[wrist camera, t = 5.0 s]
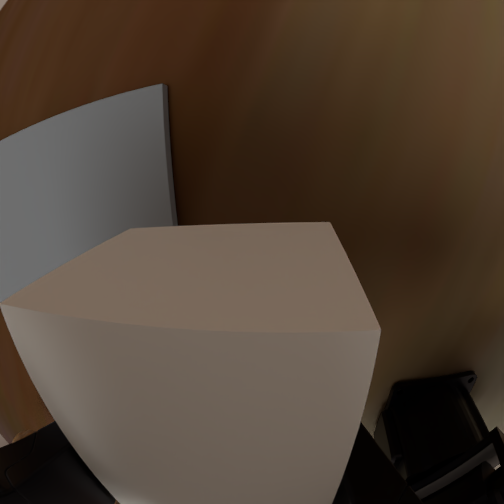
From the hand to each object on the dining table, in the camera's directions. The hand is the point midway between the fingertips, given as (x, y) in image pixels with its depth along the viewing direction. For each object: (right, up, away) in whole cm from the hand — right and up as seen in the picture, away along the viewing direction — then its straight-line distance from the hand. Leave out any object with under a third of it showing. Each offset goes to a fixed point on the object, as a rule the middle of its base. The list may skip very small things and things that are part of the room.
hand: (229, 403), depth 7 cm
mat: (-12, +3, +9) cm, 15 cm away
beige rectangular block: (0, 0, +1) cm, 1 cm away
